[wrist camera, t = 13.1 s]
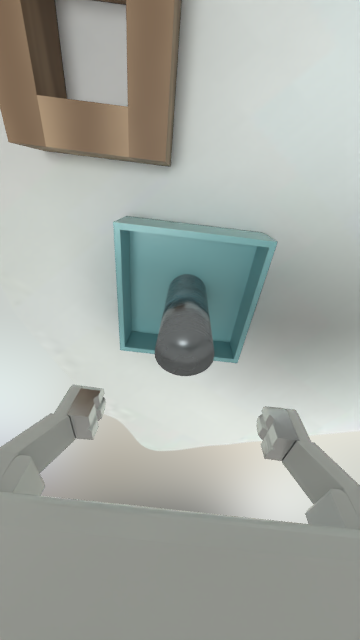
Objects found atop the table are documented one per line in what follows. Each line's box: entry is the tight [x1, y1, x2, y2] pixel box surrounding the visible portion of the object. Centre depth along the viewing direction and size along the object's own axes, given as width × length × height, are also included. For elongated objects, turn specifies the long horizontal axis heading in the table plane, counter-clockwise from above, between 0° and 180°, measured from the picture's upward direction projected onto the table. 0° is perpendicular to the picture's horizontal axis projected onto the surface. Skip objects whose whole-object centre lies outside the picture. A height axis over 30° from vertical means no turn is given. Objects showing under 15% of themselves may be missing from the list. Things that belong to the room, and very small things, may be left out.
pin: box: [155, 274, 214, 376], centre depth 19 cm, size 4×4×10 cm
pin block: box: [0, 0, 182, 166], centre depth 13 cm, size 11×11×4 cm
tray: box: [113, 216, 277, 363], centre depth 22 cm, size 13×13×4 cm
